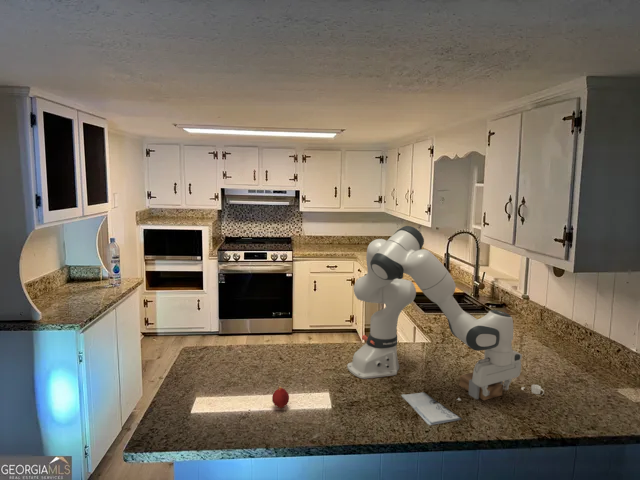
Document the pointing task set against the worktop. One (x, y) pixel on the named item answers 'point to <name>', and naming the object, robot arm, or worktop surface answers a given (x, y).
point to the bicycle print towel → (430, 408)
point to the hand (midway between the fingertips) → (495, 392)
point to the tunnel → (475, 389)
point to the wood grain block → (493, 388)
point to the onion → (280, 397)
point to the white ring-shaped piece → (535, 389)
